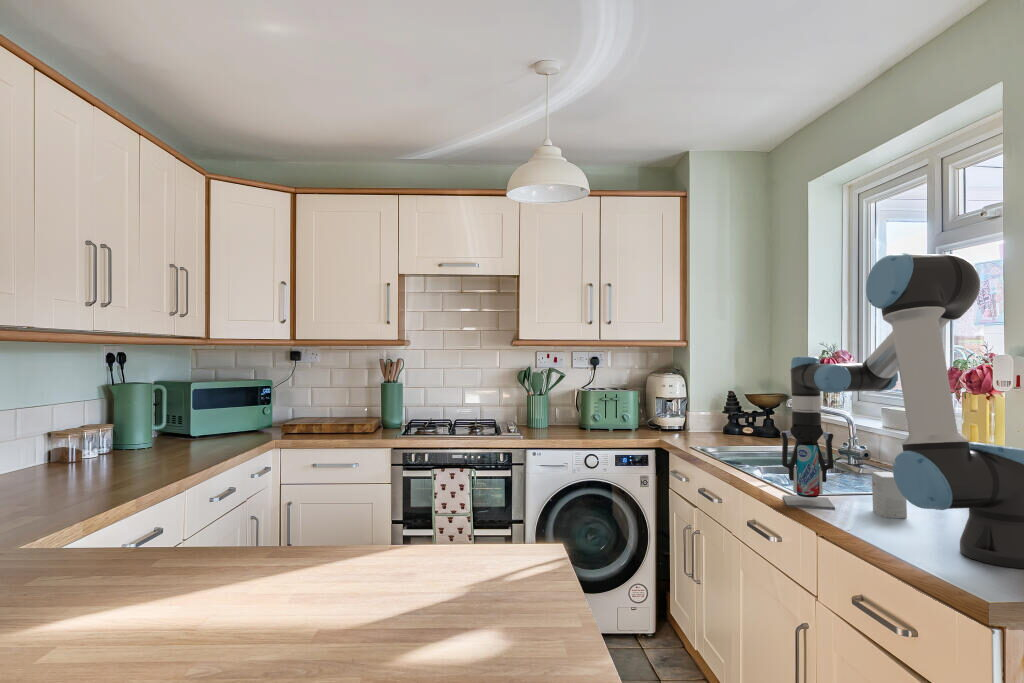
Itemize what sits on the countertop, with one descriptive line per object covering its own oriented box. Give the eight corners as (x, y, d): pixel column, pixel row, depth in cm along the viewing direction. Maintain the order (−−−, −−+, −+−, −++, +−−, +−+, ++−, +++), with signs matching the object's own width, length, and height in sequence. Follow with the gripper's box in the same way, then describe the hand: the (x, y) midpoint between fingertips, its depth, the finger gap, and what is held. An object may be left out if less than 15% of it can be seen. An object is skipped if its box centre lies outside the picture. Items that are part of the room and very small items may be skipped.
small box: (907, 518, 163) (906, 477, 163) (883, 517, 164) (882, 476, 164) (895, 511, 171) (894, 471, 171) (872, 510, 172) (871, 471, 172)
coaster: (835, 509, 173) (835, 507, 173) (787, 506, 177) (787, 504, 177) (827, 499, 184) (827, 497, 184) (782, 497, 188) (782, 495, 188)
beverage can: (792, 495, 181) (791, 442, 181) (802, 492, 185) (801, 440, 185) (813, 499, 176) (813, 444, 177) (823, 495, 180) (822, 442, 181)
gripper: (840, 410, 182) (842, 491, 181) (769, 409, 187) (770, 488, 187) (845, 412, 175) (847, 497, 174) (771, 411, 180) (773, 493, 180)
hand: (807, 492), depth 181 cm, fingers closed on beverage can, 6 cm apart
